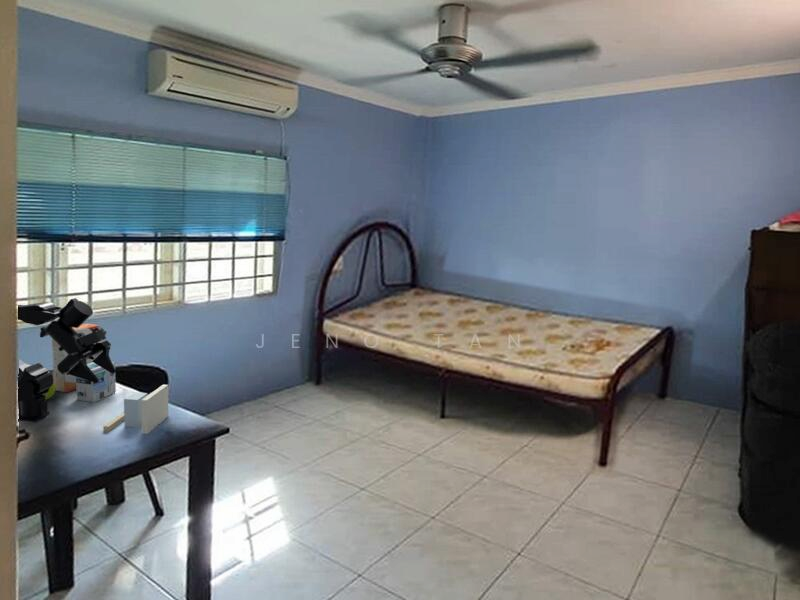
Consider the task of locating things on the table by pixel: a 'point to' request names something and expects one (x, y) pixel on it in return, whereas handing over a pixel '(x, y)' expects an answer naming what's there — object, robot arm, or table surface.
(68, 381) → the cracker box
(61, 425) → the table surface
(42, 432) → the table surface
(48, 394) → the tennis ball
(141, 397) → the pale grey square box
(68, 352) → the robot arm
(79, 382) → the light bulb box
